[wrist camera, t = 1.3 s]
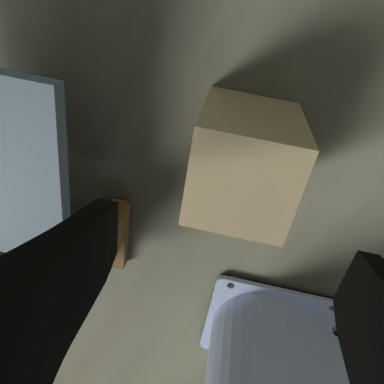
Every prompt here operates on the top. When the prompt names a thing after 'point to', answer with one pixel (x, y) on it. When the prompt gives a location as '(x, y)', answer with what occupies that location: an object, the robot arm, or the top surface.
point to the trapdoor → (32, 157)
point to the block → (247, 166)
